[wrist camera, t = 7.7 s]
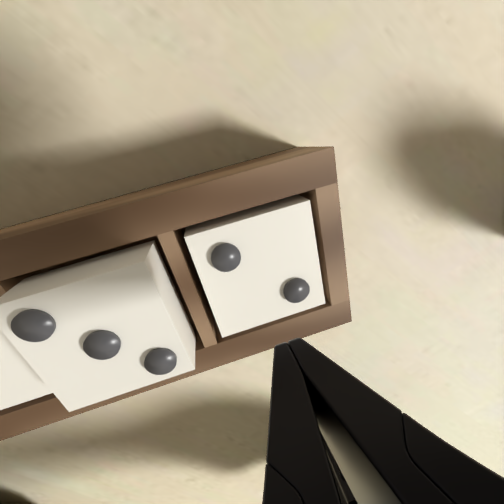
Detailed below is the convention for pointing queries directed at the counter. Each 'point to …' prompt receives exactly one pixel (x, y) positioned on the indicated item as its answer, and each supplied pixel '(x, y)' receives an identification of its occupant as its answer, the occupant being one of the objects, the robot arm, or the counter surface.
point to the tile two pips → (258, 263)
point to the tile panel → (186, 256)
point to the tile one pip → (17, 377)
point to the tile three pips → (101, 326)
